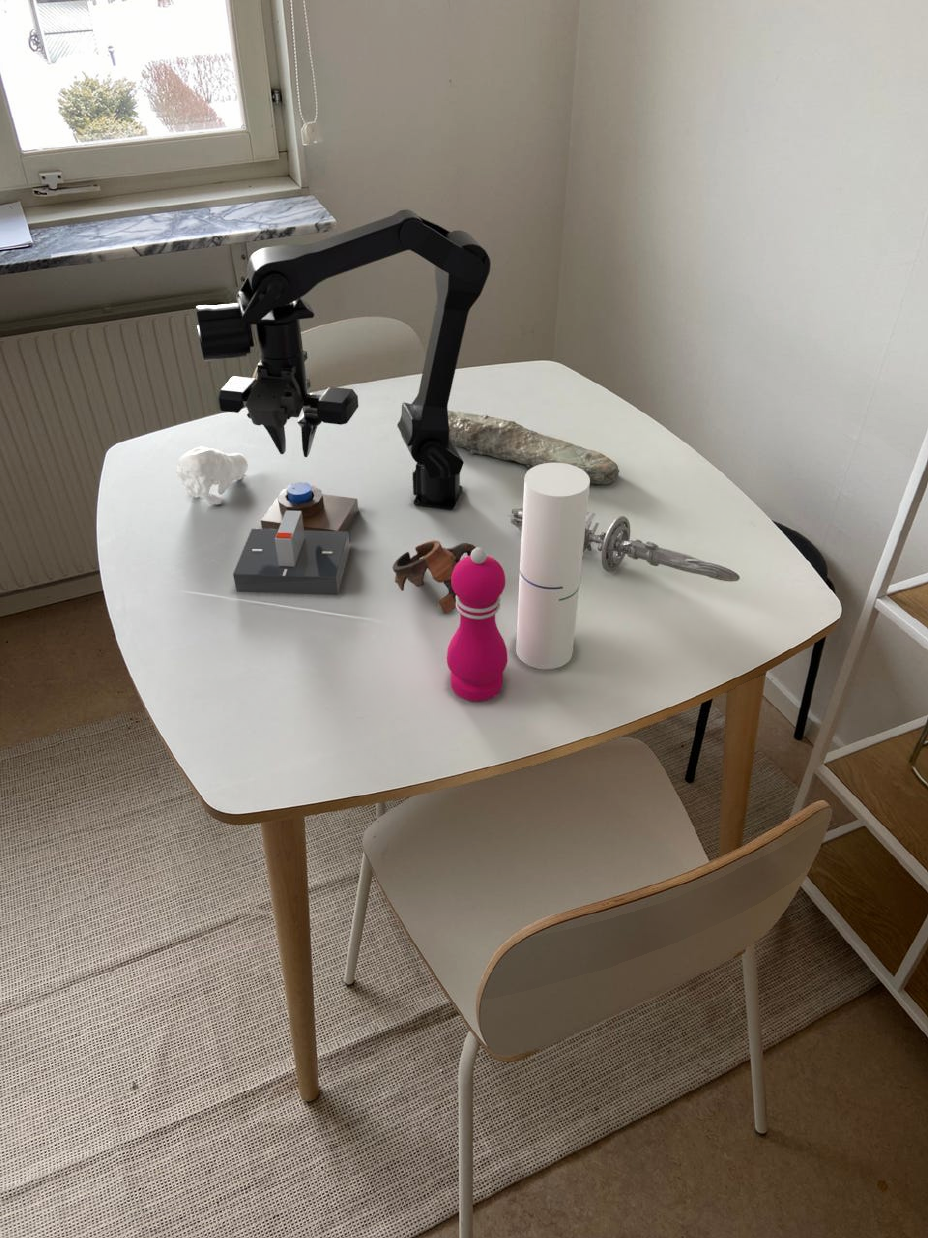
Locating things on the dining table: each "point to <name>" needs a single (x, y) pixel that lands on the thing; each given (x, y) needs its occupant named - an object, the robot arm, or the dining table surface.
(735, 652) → the dining table surface
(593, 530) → the silver sword
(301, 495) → the button
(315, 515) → the button block
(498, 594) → the pepper mill
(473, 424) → the elongated rock
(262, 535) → the rotary switch base
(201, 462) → the white animal figurine
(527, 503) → the cylindrical container
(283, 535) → the rotary switch knob
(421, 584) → the broken clay pot shards
